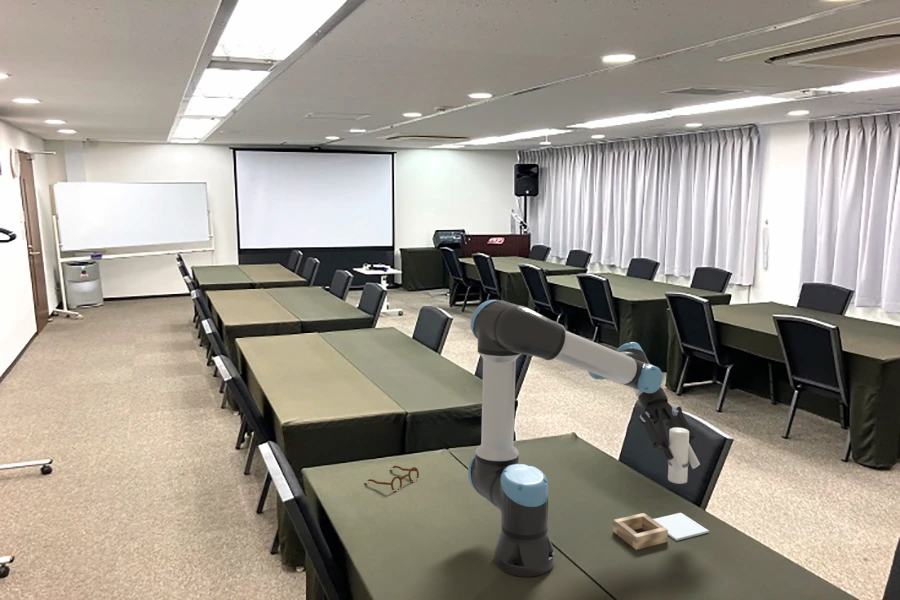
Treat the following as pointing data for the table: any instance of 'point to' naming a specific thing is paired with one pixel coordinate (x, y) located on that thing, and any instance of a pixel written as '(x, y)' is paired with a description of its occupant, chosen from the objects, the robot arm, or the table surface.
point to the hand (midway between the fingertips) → (687, 468)
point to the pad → (681, 526)
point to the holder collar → (644, 539)
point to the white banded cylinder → (679, 454)
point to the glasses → (399, 477)
